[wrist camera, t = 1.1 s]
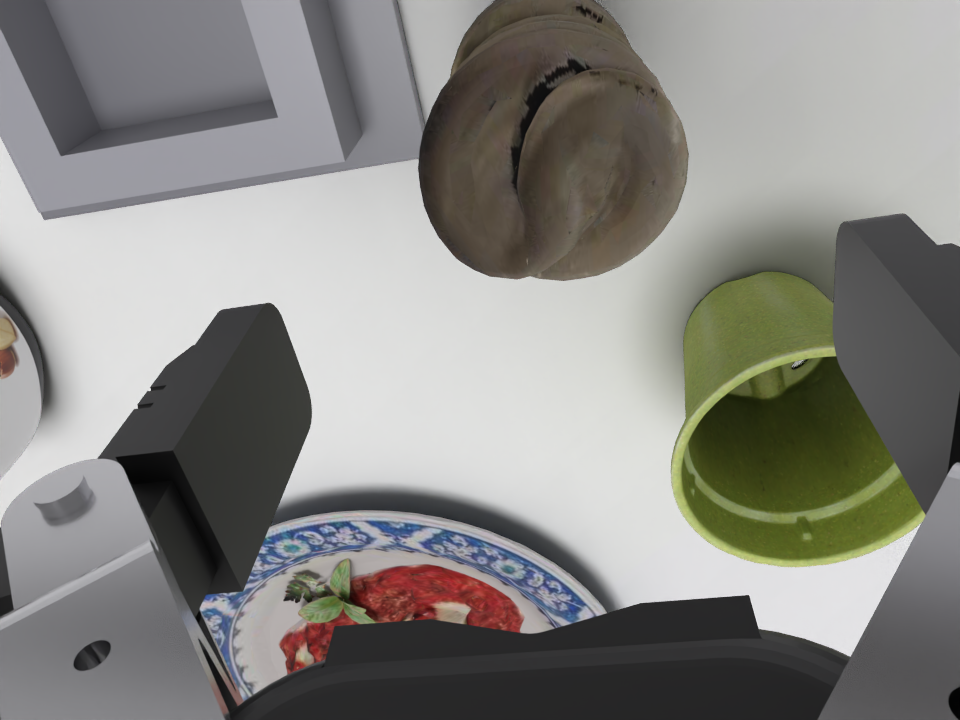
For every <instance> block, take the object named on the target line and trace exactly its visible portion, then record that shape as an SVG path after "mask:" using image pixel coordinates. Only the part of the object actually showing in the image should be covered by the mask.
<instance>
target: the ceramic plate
mask: <svg viewBox="0 0 960 720" xmlns="http://www.w3.org/2000/svg"><path fill="white" fill-rule="evenodd" d="M200 610H201V612H202V614H203V615H204V617H205V619H206V621H207V623H208V625H209V627H210V629H211V631H212V633H213V636H214V638H215V640H216V642H217V644H218V646H219V649H220V651H221V653H222V655H223V657H224V659H225V662H226V664H227V666H228V668H229V670H230V672H231V675H232V677H233V679H234V681H235V683H236V685H237V688H238V690H239V692H240V694H241V696H242V699H243V701H245V700H246V699H248V698H249V697H250V696H252V695H254V694H255V693H257V692H258V691H260V690H261V689H263V688H264V687H266V686H268V685H269V684H271V683H273V682H275V681H276V680H278V679H280V678H282V677H284V676H286V675H288V674H290V673H292V672H294V671H296V670H299V669H301V668H304V667H306V666H309V665H311V664H314V663H317V662H320V661H323V660H325V659H326V656H327V652H328V648H329V645H330V641H331V637H332V634H333V630H334V626H342V625H356V624H369V623H383V622H396V621H409V620H423V619H434V620H440V621H447V622H453V623H460V624H466V625H473V626H479V627H486V628H492V629H499V630H505V631H512V632H518V633H528V634H530V633H539V632H544V631H548V630H551V629H554V628H558V627H561V626H565V625H568V624H571V623H575V622H578V621H582V620H585V619H589V618H592V617H595V616H599V615H602V614H606V613H607V612H606V610H605V609H604V607H603V606H602V605H601V604H600V602H599V601H598V600H597V599H596V598H595V597H594V596H593V595H592V594H591V593H590V592H589V591H588V589H586V588H585V587H584V586H583V585H582V584H581V583H580V582H578V581H577V580H576V579H575V578H574V577H573V576H572V575H570V574H569V573H567V572H566V571H565V570H563V569H562V568H561V567H559V566H558V565H556V564H555V563H554V562H552V561H550V560H548V559H547V558H545V557H543V556H541V555H540V554H538V553H536V552H535V551H533V550H531V549H529V548H528V547H526V546H524V545H522V544H520V543H517V542H515V541H512V540H510V539H508V538H505V537H503V536H500V535H498V534H495V533H493V532H491V531H488V530H485V529H482V528H478V527H475V526H472V525H469V524H466V523H462V522H458V521H453V520H449V519H445V518H441V517H435V516H429V515H423V514H417V513H408V512H397V511H377V510H357V511H341V512H331V513H324V514H317V515H311V516H306V517H302V518H297V519H293V520H289V521H286V522H282V523H279V524H276V525H273V526H270V527H269V529H268V532H267V534H266V537H265V539H264V542H263V544H262V547H261V549H260V552H259V554H258V556H257V559H256V561H255V564H254V566H253V569H252V571H251V574H250V576H249V578H248V581H247V583H246V586H245V588H244V591H243V592H233V593H221V594H209V595H206V596H205V598H204V600H203V603H202V605H201V607H200Z"/></svg>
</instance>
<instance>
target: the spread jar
mask: <svg viewBox="0 0 960 720" xmlns="http://www.w3.org/2000/svg"><path fill="white" fill-rule="evenodd" d="M43 400H44V372H43V364H42V359H41V354H40V350H39V347H38V344H37V341H36V339H35V336H34V334H33V332H32V330H31V329H30V327H29V326H28V324H27V322H26V321H25V320H24V318H23V317H22V316H21V314H20V313H19V312H18V311H17V310H16V308H15V307H14V306H13V305H12V304H11V303H10V302H9V301H8V300H6V299H5V298H4V297H3V296H2V295H1V294H0V480H1V478H2V477H3V476H4V475H5V474H6V473H7V472H8V470H9V469H10V468H11V467H12V466H13V464H14V463H15V462H16V461H17V460H18V458H19V457H20V456H21V454H22V453H23V452H24V450H25V449H26V447H27V446H28V444H29V443H30V441H31V440H32V438H33V436H34V434H35V432H36V430H37V428H38V425H39V421H40V417H41V412H42V407H43Z"/></svg>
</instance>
